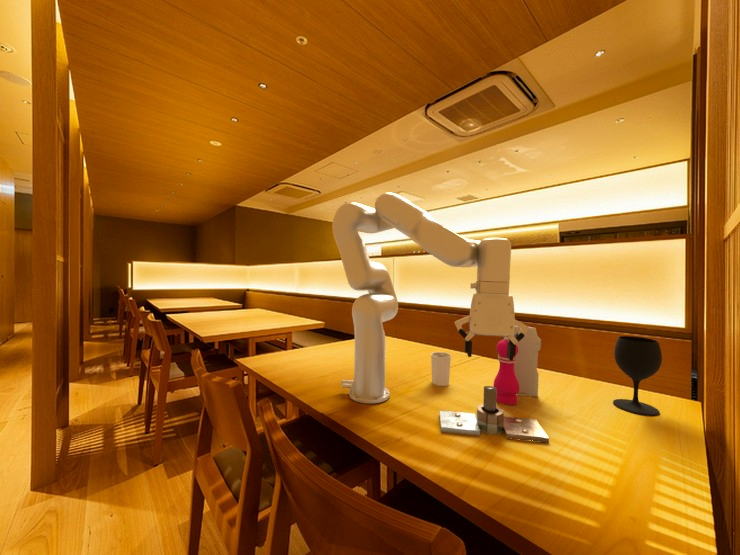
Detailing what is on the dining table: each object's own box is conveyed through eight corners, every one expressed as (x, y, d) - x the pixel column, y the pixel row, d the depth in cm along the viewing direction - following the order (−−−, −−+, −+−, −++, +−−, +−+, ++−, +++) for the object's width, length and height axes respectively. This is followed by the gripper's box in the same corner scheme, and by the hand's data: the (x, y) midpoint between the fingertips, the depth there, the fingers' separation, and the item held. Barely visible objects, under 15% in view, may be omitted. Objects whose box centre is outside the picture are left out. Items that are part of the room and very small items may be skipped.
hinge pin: (484, 430, 76) (484, 389, 76) (482, 424, 79) (482, 385, 79) (497, 431, 76) (497, 390, 76) (494, 425, 79) (495, 386, 79)
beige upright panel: (539, 394, 99) (541, 325, 98) (539, 399, 95) (541, 327, 95) (503, 388, 104) (504, 322, 103) (501, 392, 100) (503, 324, 100)
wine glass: (651, 404, 93) (653, 337, 92) (666, 419, 83) (669, 345, 83) (608, 397, 97) (610, 334, 97) (618, 411, 88) (620, 340, 87)
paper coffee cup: (452, 382, 109) (453, 353, 109) (446, 388, 103) (447, 358, 103) (434, 378, 113) (435, 350, 112) (427, 383, 107) (428, 355, 107)
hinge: (441, 431, 75) (441, 413, 75) (439, 414, 84) (440, 398, 84) (548, 443, 71) (549, 423, 71) (535, 423, 80) (535, 406, 80)
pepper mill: (522, 407, 90) (523, 338, 89) (495, 404, 91) (497, 336, 90) (515, 397, 97) (517, 333, 96) (491, 395, 98) (492, 331, 98)
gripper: (457, 288, 75) (454, 358, 75) (535, 291, 71) (531, 365, 72) (455, 286, 82) (452, 350, 83) (525, 289, 79) (522, 356, 79)
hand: (489, 357), depth 77 cm, fingers open, 9 cm apart
